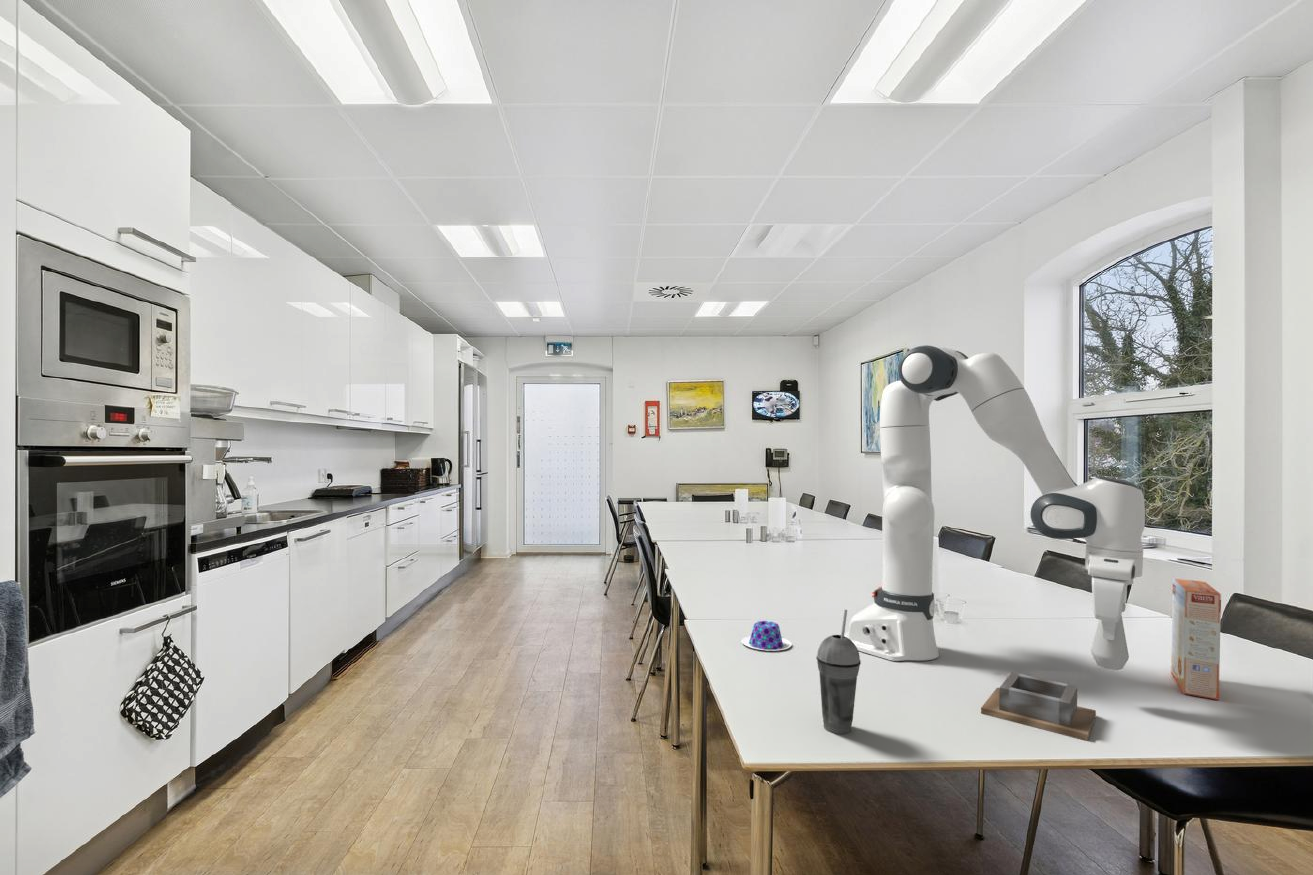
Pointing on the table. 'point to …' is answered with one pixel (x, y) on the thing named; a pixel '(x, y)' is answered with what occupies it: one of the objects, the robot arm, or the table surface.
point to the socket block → (1040, 705)
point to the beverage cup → (838, 680)
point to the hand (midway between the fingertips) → (1109, 635)
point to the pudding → (766, 637)
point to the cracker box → (1196, 638)
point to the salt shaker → (1111, 647)
